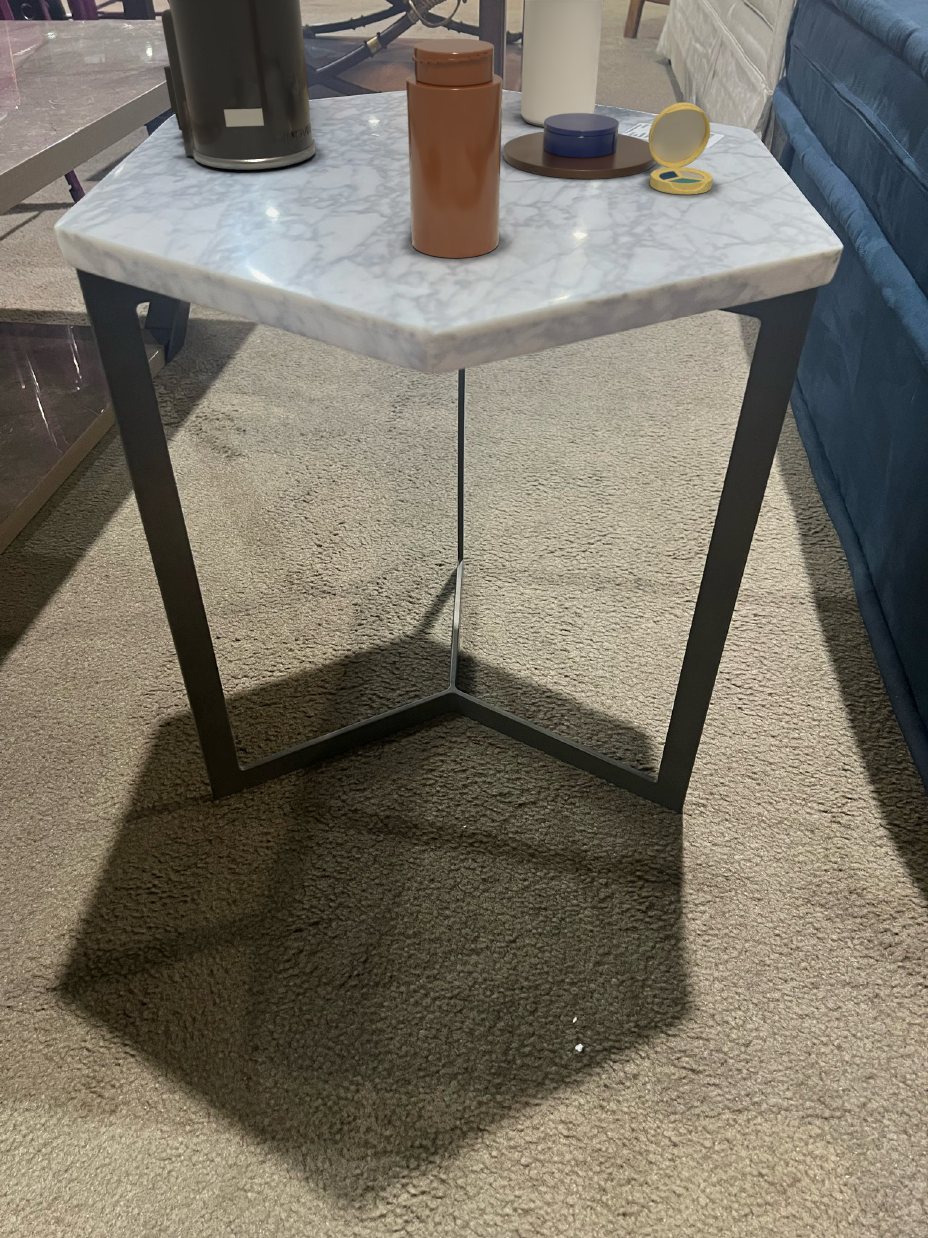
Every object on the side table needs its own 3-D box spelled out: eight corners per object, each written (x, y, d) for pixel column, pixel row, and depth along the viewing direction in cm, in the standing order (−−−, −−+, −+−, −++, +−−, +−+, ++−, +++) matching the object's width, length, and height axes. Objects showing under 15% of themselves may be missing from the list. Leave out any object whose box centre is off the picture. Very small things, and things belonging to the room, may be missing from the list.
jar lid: (629, 145, 73) (632, 118, 72) (596, 162, 69) (598, 134, 68) (564, 135, 75) (566, 109, 74) (529, 150, 72) (530, 123, 71)
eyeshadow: (657, 194, 65) (667, 116, 62) (641, 174, 69) (650, 100, 66) (718, 193, 65) (732, 115, 62) (699, 173, 69) (711, 99, 66)
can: (508, 123, 81) (513, -45, 73) (538, 108, 85) (546, -52, 78) (576, 131, 79) (589, -41, 71) (604, 115, 83) (619, -49, 75)
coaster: (475, 163, 71) (475, 155, 71) (546, 130, 79) (546, 122, 79) (618, 187, 66) (619, 178, 66) (679, 149, 74) (680, 141, 74)
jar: (395, 247, 57) (385, 47, 50) (441, 223, 60) (438, 33, 54) (470, 264, 55) (471, 57, 48) (514, 237, 58) (520, 42, 51)
